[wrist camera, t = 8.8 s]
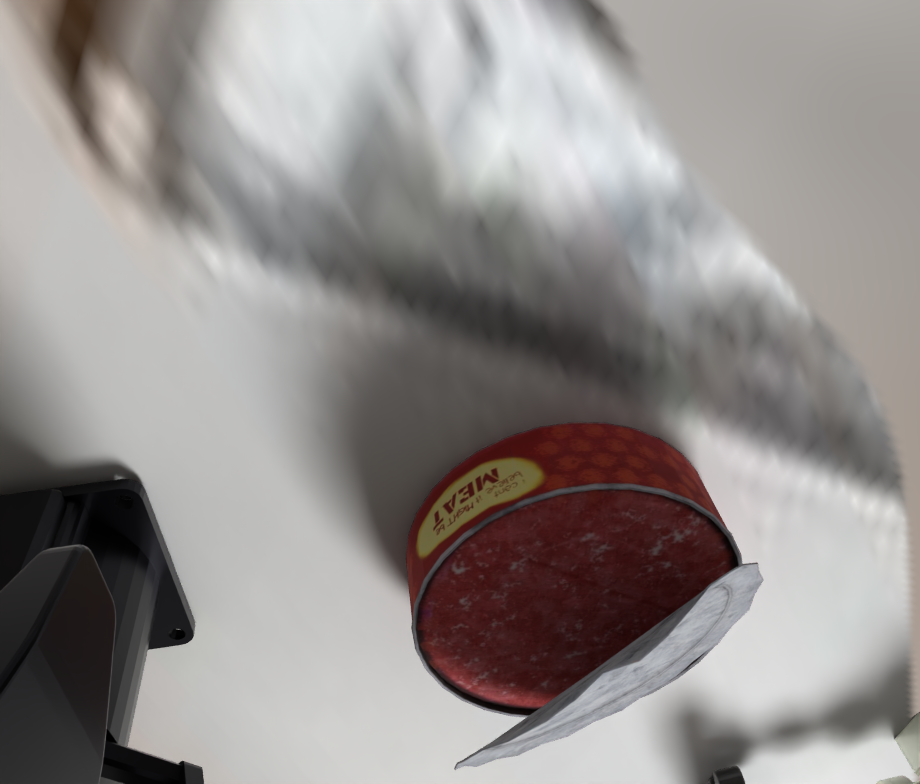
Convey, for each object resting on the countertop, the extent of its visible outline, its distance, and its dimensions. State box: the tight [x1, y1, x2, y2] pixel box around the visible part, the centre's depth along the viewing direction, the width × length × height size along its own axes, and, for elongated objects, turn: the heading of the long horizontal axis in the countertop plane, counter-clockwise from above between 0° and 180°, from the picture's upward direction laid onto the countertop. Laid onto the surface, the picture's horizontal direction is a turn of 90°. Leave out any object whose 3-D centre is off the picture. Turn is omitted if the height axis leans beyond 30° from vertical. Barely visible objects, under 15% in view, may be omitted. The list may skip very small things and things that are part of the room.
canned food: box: [406, 422, 763, 770], centre depth 26 cm, size 11×10×10 cm
